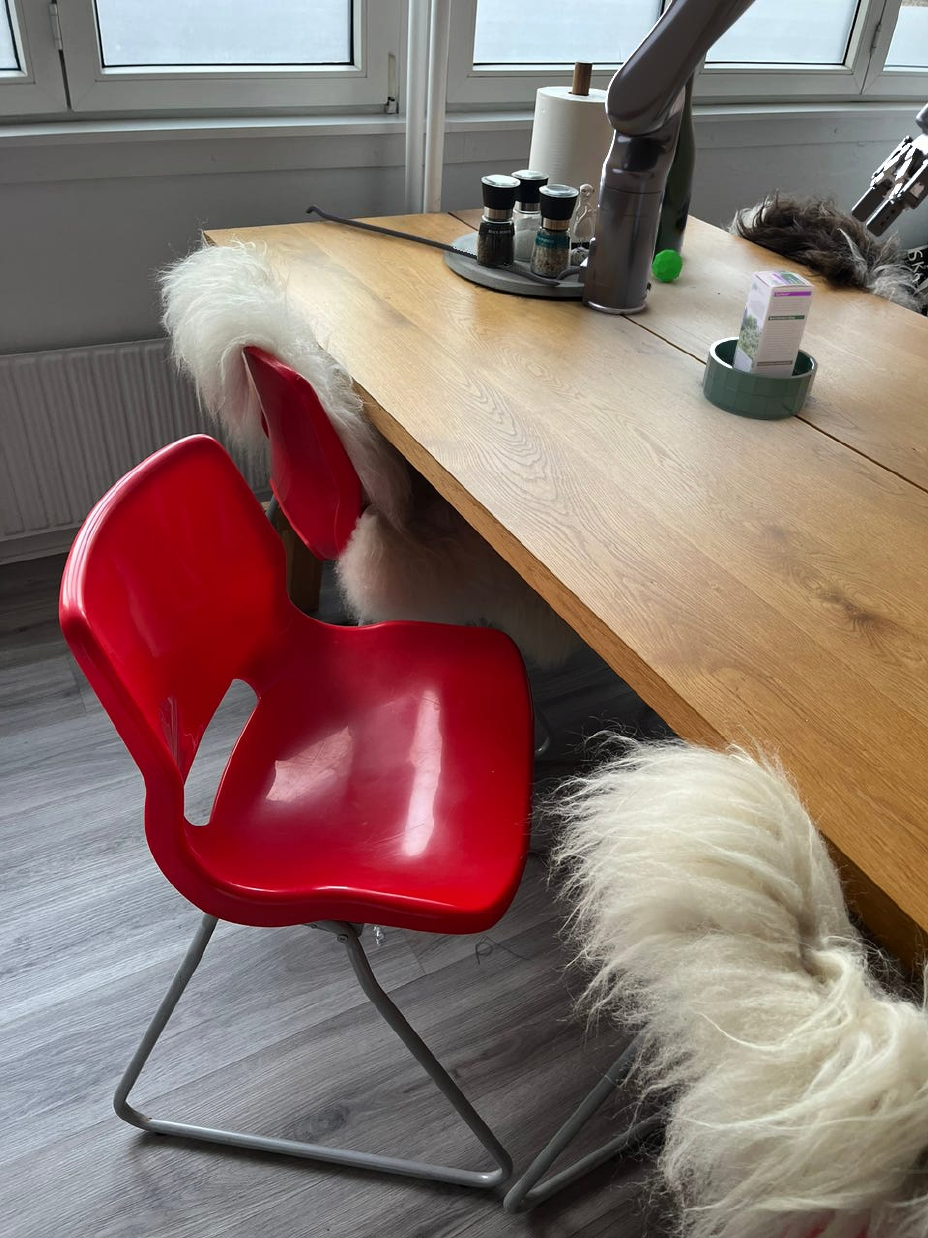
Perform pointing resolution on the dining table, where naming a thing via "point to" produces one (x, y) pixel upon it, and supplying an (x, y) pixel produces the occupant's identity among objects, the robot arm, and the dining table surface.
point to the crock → (756, 385)
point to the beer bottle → (679, 182)
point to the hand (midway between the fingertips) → (863, 225)
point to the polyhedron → (667, 265)
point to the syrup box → (773, 323)
